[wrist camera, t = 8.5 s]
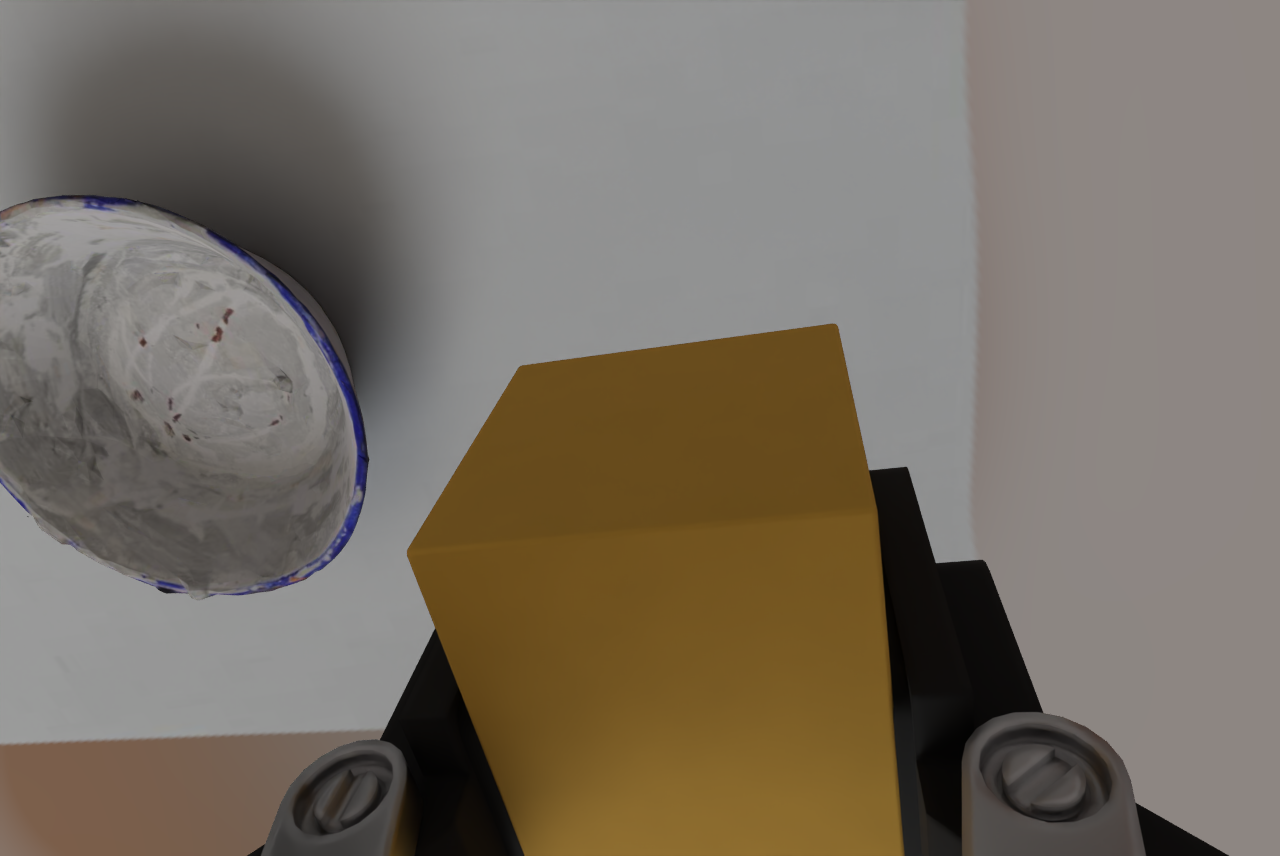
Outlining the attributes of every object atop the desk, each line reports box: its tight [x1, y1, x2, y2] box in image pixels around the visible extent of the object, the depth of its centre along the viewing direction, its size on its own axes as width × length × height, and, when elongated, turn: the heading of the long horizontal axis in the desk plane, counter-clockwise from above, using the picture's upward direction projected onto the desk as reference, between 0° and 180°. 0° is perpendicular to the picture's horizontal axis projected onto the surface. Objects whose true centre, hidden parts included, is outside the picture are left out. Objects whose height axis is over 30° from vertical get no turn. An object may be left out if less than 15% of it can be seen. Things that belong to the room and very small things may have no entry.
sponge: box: [407, 324, 904, 856], centre depth 10 cm, size 7×4×4 cm, turn 11°
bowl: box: [0, 195, 369, 600], centre depth 26 cm, size 13×13×5 cm
